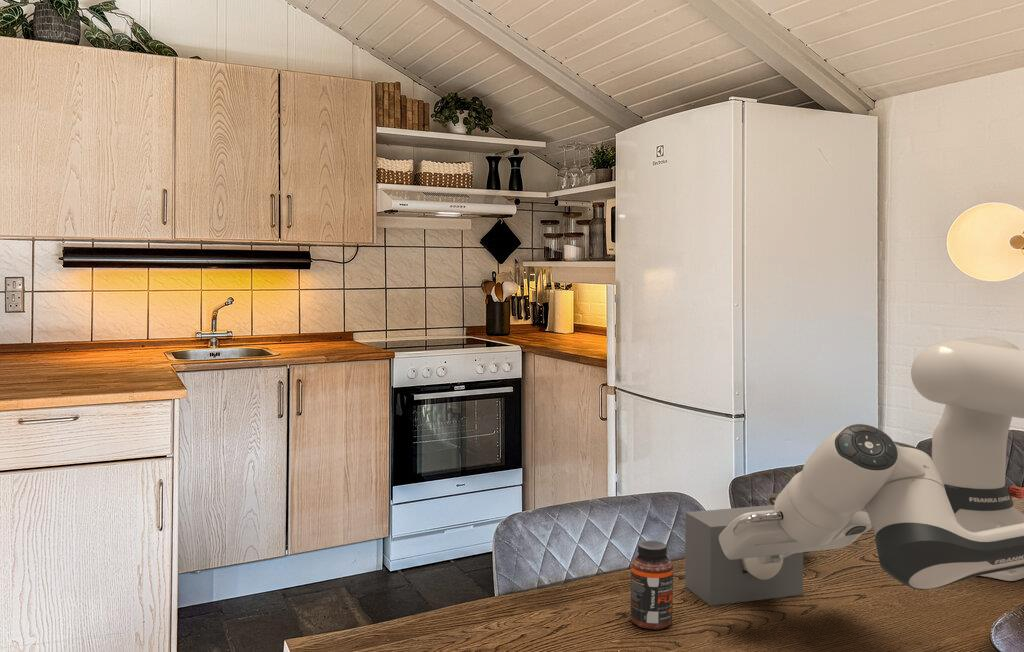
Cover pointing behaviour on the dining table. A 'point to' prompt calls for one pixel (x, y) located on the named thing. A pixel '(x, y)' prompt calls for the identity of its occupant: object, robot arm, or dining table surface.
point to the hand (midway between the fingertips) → (767, 558)
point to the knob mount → (731, 563)
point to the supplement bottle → (651, 586)
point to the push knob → (761, 568)
